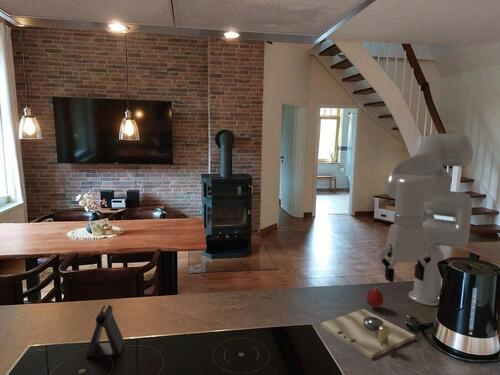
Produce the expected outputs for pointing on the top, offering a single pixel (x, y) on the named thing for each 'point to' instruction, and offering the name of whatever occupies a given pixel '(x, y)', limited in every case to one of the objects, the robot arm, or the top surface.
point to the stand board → (365, 333)
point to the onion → (374, 298)
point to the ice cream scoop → (377, 329)
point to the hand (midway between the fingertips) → (404, 279)
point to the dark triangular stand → (112, 333)
